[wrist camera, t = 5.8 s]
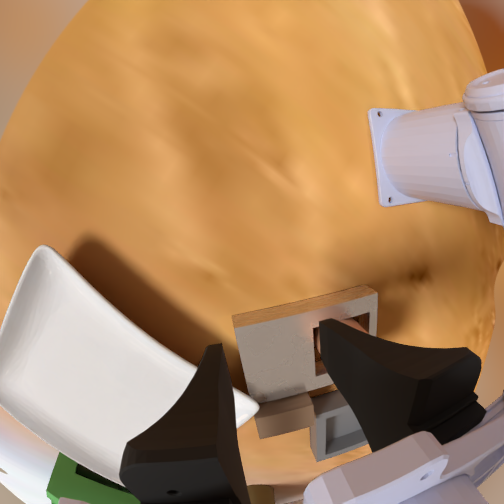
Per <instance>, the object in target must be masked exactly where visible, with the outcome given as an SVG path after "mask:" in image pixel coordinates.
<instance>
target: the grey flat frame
mask: <svg viewBox="0 0 504 504" xmlns="http://www.w3.org/2000/svg"><path fill="white" fill-rule="evenodd" d="M377 309H378V293H377V292H376V291H375V290H373V289H372V288H370V287H369V286H368V285H366V284H365V285H362V286H358V287H354V288H350V289H346V290H343V291H339V292H335V293H331V294H327V295H323V296H319V297H315V298H311V299H306V300H302V301H298V302H294V303H289V304H285V305H281V306H276V307H272V308H267V309H262V310H258V311H253V312H248V313H243V314H238V315H233V316H232V321H233V325H234V330H235V335H236V339H237V344H238V348H239V353H240V357H241V362H242V366H243V371H244V375H245V379H246V384H247V388H248V392H249V396H250V397H251V398H253V399H254V400H256V402H257V403H258V404H259V403H264V402H268V401H272V400H277V399H281V398H285V397H289V396H293V395H296V394H300V393H304V392H307V391H311V390H314V389H318V388H321V387H324V386H328V385H331V384H334V382H333V381H332V379H331V378H330V376H329V375H328V373H327V371H326V368H325V366H324V364H323V362H322V360H320V361H316V362H315V356H314V340H313V328H315V327H319V321H322V320H325V319H329V318H333V319H335V320H338V321H340V320H344V319H347V318H351V317H354V316H358V315H359V325H360V326H361V327H362V328H363V329H364V330H365V331H366V332H367V333H368V334H370V335H372V336H375V337H376V332H377Z"/></svg>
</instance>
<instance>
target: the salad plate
mask: <svg viewBox="0 0 504 504" xmlns="http://www.w3.org/2000/svg"><path fill="white" fill-rule="evenodd" d="M197 368H198V367H196V366H195V365H193V364H191V363H190V362H188V361H186V360H185V359H183V358H182V357H180V356H178V355H177V354H175V353H174V352H172V351H171V350H169V349H168V348H167V347H165V346H164V345H162V344H161V343H159V342H158V341H157V340H155V339H154V338H152V337H151V336H150V335H148V334H147V333H146V332H145V331H143V330H142V329H141V328H140V327H138V326H137V325H136V324H135V323H133V322H132V321H131V320H130V319H128V318H127V317H126V316H125V315H124V314H123V313H121V312H120V311H119V310H118V309H117V308H116V307H114V306H113V305H112V304H111V303H110V302H109V301H108V300H107V299H106V298H104V297H103V296H102V295H101V294H100V293H99V292H98V291H97V290H96V289H95V288H94V287H93V286H92V285H91V284H90V283H89V282H88V281H87V280H86V279H85V278H84V277H83V276H82V275H81V274H80V273H79V272H78V271H77V270H76V269H75V268H74V267H73V266H72V265H71V264H70V263H69V262H68V261H67V260H66V259H65V258H64V257H62V256H61V255H60V254H59V253H58V252H57V251H56V250H55V249H54V248H52V247H50V246H48V245H40V246H39V247H38V248H37V249H36V250H35V251H34V252H33V254H32V256H31V258H30V259H29V261H28V263H27V265H26V267H25V269H24V271H23V273H22V275H21V278H20V280H19V282H18V285H17V287H16V289H15V292H14V294H13V297H12V299H11V302H10V304H9V307H8V310H7V312H6V315H5V317H4V320H3V323H2V326H1V329H0V406H1V407H2V408H3V409H4V410H6V411H7V412H8V413H9V414H10V415H11V416H13V417H14V418H15V419H16V420H17V421H19V422H20V423H21V424H22V425H23V426H25V427H26V428H27V429H29V430H30V431H31V432H33V433H34V434H35V435H37V436H38V437H39V438H41V439H42V440H43V441H45V442H46V443H48V444H49V445H51V446H52V447H54V448H55V449H57V450H58V451H60V452H61V453H63V454H64V455H66V456H67V457H69V458H71V459H72V460H74V461H76V462H77V463H79V464H81V465H83V466H84V467H86V468H88V469H90V470H92V471H93V472H95V473H97V474H99V475H101V476H103V477H105V478H107V479H109V480H111V481H113V482H115V483H118V484H120V485H122V486H124V485H123V483H122V482H121V481H120V478H119V471H120V465H121V460H122V455H123V452H124V449H125V446H126V443H127V442H128V441H129V440H131V439H133V438H134V437H136V436H137V435H139V434H140V433H142V432H144V431H145V430H146V429H148V428H149V427H150V426H152V425H153V424H154V423H155V422H157V421H158V420H159V419H160V418H161V417H162V416H163V415H164V414H165V413H166V412H167V411H168V410H169V409H170V408H171V407H172V406H173V405H174V404H175V403H176V401H177V400H178V399H179V398H180V396H181V395H182V394H183V392H184V391H185V389H186V388H187V386H188V384H189V383H190V381H191V379H192V378H193V376H194V374H195V372H196V370H197ZM233 393H234V398H235V413H236V428H238V427H240V426H241V425H242V424H244V423H245V422H246V421H248V420H249V419H250V418H251V417H252V416H253V415H255V414H256V413H257V412H258V410H259V408H260V406H259V404H258V403H257V402H256V400H254V399H253V398H251V397H250V396H248V395H246V394H245V393H243V392H241V391H240V390H238V389H236V388H234V387H233ZM124 487H125V486H124Z"/></svg>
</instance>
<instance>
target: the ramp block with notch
mask: <svg viewBox="0 0 504 504" xmlns="http://www.w3.org/2000/svg"><path fill="white" fill-rule="evenodd" d="M77 464H78V463H77V462H76V461H74V460H72V459H71V458H69V457H67V456H66V455H64V454H63V453H61V452H59V455H58V458H57V461H56V463H55V466H54V469H53V472H52V475H51V478H50V481H49V484H48V487H47V490H46V491H47V497H48V498H49V499H51V501H52V504H58V502H59V499H60V497H64V498H69V499H74V500H79V501H84V502H87V503H89V504H140V501H139V500H138V499H137V498H136V497H135V496H134V495H132V494H129V493H126V492H123V491H120V490H117V489H114V488H111V487H108V486H105V485H103V484H100V483H97V482H95V481H92V480H90V479H87V478H85V477H83V476H80V475H78V474H76V470H77Z"/></svg>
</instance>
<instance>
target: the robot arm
mask: <svg viewBox="0 0 504 504" xmlns="http://www.w3.org/2000/svg"><path fill="white" fill-rule="evenodd" d="M462 99H463V102H461V103H455V104H450V105H444V106H439V107H434V108H429V109H425V110H420V111H416V110H402V109H384V108H372V109H370V110H368V119H369V125H370V131H371V137H372V144H373V151H374V158H375V167H376V175H377V185H378V196H379V204H380V205H381V206H383V207H390V206H396V205H402V204H409V203H416V202H422V201H434V202H440V203H445V204H450V205H456V206H461V207H466V208H470V209H475V210H480V211H484V212H485V213H486V214H487V216H488V218H489V221H490V223H494V224H498V225H502V226H503V228H504V69H500V70H497V71H494V72H491V73H488V74H485V75H483V76H481V77H479V78H477V79H475V80H473V81H472V82H470V83H469V84H468V85H467V87H466V90H465V93H464V94H463V97H462ZM378 112H379V113H380V117H379V116H378ZM389 198H391V201H390V203H389V201H388V200H389ZM319 336H320V357H321V360H322V362H323V364H324V366H325V368H326V371H327V373H328V375H329V376H330V378H331V379H332V381H333V382H334V384H335V385H336V387H337V388H338V390H339V391H340V393H341V394H342V396H343V397H344V399H345V400H346V402H347V403H348V404H349V406H350V407H351V409H352V411H353V412H354V414H355V416H356V418H357V420H358V422H359V424H360V426H361V428H362V430H363V432H364V435H365V437H366V439H367V441H368V443H369V445H370V448H371V450H372V453H371V454H369V455H366V456H364V457H361V458H359V459H356V460H353V461H351V462H348V463H345V464H343V465H340V466H337V467H335V468H333V469H331V470H329V471H326V472H324V473H322V474H320V475H319V476H318V477H316V478H315V479H314V480H312V481H311V482H310V483H309V484H308V486H307V487H306V489H305V491H304V493H303V494H304V499H302V500H298V501H294V502H290V503H286V504H489V503H488V502H487V501H486V500H485V498H484V497H483V496H482V495H481V493H480V492H479V491H478V489H477V487H478V486H479V485H480V484H482V483H483V482H484V481H485V480H486V479H487V478H488V477H490V476H491V475H492V474H493V473H494V472H495V471H496V470H497V469H498V468H499V467H500V466H501V465H502V464H503V463H504V390H503V394H502V396H500V397H499V398H498V399H497V400H495V401H494V402H493V403H492V404H490V405H489V406H488V407H487V408H485V409H484V408H483V407H482V406H481V405H480V404H479V403H478V402H477V401H476V400H477V399H478V396H477V395H476V394H475V393H474V392H473V391H474V389H475V386H476V383H477V381H478V378H479V375H480V371H481V359H480V357H479V356H477V355H476V354H475V353H473V352H472V351H471V350H469V349H468V348H467V347H461V348H444V349H443V348H423V347H415V346H408V345H403V344H399V343H395V342H391V341H387V340H384V339H381V338H378V337H375V336H372V335H370V334H367V333H365V332H362V331H360V330H358V329H355V328H353V327H351V326H349V325H347V324H344V323H342V322H340V321H338V320H335V319H333V318H329V319H325V320H322V321H319ZM119 478H120V481H121V482H122V483H123V485H124V486H125V487H126V488H127V489H128V490H129V491H130V492H131V493H132V494H133V495H134V496H135V497H136V498H137V499H138V500H139V501H140V504H251V502H250V498H249V493H248V489H247V485H246V481H245V476H244V471H243V467H242V462H241V457H240V452H239V447H238V440H237V428H236V413H235V398H234V393H233V387H232V382H231V377H230V374H229V370H228V366H227V362H226V358H225V354H224V350H223V346H222V343H220V344H215V345H209V346H207V347H206V349H205V352H204V355H203V357H202V360H201V362H200V364H199V366H198V368H197V370H196V372H195V374H194V376H193V378H192V379H191V381H190V383H189V384H188V386H187V388H186V389H185V391H184V392H183V394H182V395H181V396H180V398H179V399H178V400H177V401H176V403H175V404H174V405H173V406H172V407H171V408H170V409H169V410H168V411H167V412H166V413H165V414H164V415H163V416H162V417H161V418H160V419H159V420H158V421H157V422H155V423H154V424H153V425H152V426H150V427H149V428H148V429H146V430H145V431H144V432H142V433H140V434H139V435H137V436H136V437H134V438H133V439H131V440H129V441H128V442H127V443H126V446H125V449H124V452H123V455H122V460H121V465H120V471H119ZM58 504H89V503H87V502H84V501H79V500H74V499H69V498H64V497H60V499H59V502H58Z"/></svg>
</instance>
